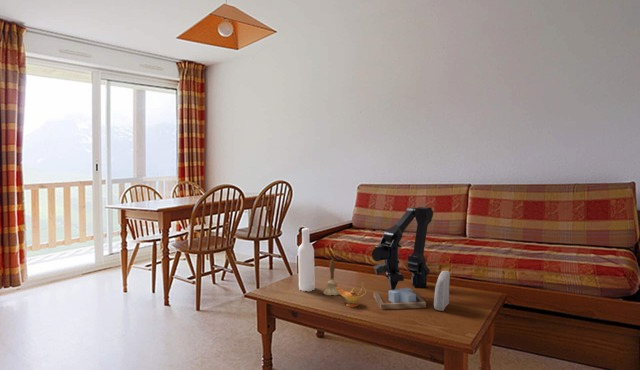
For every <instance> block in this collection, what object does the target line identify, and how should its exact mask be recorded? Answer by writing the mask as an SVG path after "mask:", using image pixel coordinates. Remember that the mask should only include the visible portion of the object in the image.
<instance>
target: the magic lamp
mask: <svg viewBox="0 0 640 370" xmlns="http://www.w3.org/2000/svg"><path fill="white" fill-rule="evenodd" d="M332 286H333V287H335V289H336V290H337V291H338V292H339V293H340V294H339V295H340V296H342V297H343V299H345V301H348V302H347V303H346V305H345V306H347V307H349V308H350V307H352V308H354V307H355V308H356V307H357V306H359V304H358V303H357V301H360V298H361V297H363V296H365V295H366V294H367V290H366V288H365V282H364V281H363V282H361V289H360V291H359V292H357V290H356V288H354V287H353V288H352V289H351V290H350V291H347V290H344V289H342V288H341V287H340V286H338V285H337V286H336V285H332ZM363 290H364V292H365V293H363V294H362V295H360V294H361V293H362V291H363Z"/></svg>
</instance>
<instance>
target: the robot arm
mask: <svg viewBox="0 0 640 370" xmlns="http://www.w3.org/2000/svg"><path fill="white" fill-rule="evenodd" d="M433 217H434V210H433V209H432V207H430V206H418V207H413V206H412V207H411V206H410V207H407V208H406V211H405V213H404V214H403V215H401V217H400V219H399V220H398V221H397V222H396V223H394V225H393V226H390V227H389V228H388V229H386V230H385V231H384V233H383V234H382V237H381V239H380V241H379V244H378V245H375V246H374V248H373V249H372V251H371V258H372V259H373V260H374V261H375V262H380V261H384V262H382V263H379V264H377V265H374V266H373V269H374V272H375V274H376V275H377V276H380V275H381V274H384V273H385V274H384V276H385V278H386V279H387V280H388V283H389V287H390V290H395V289H397V285H398V283H399V282H404V281H405V277H404V275H403V274H402V273H401V271H400V268H399V264H400V260H399V249H400V248H402V245H401V244H400V242H401V240H402V239H403V233H404V232H405V230H406V229H407V228H408V226H409V225H410V224H411V223H412V222H413V220H414V219H415V221H416V224H417V225H416V231H415V237H414V238H415V239H414V245H413V249H412V251H413V252H412V253H411V254H408V256H407V262H406V264H407V269H408V271H409V273H411V276H410V278H411V280H410V281H411V285H412V286H413V288H428V287H429V285H427V284H428V282H427V280H428V279H427V277H428V275H430V273H431V272H430V271H431V270H430V268H429V267H428V266H427V263H426V262H427V261H426V260H427V259H426V257H425V254H424V252H425V247H426V246H425V245H426V239H427V233H428V226H429V225H430V224H431V222H432V220H433Z"/></svg>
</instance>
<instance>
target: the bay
mask: <svg viewBox="0 0 640 370" xmlns="http://www.w3.org/2000/svg"><path fill="white" fill-rule="evenodd" d="M412 293H414V294H416V302H403V303H401V302H397V303H393V302H386V303H385V302H384V301H383V300H382V297H381V296H380V295H379V293H378V292H377V291H374V292H373V298H374V300H375V302H376V303H377V305H378V306H379V308H380V309H381V310H397V309H398V310H399V309H401V310H402V309H421V308H422V309H423V308H424V309H425V308H427V302H426V301H425V300H424V299H423V298H422V297H421V296H420V295H419V294H418V292H417V291H416V290H412Z"/></svg>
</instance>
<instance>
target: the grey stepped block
mask: <svg viewBox="0 0 640 370" xmlns="http://www.w3.org/2000/svg"><path fill="white" fill-rule="evenodd" d="M412 291H413V289H412V288H410V287H400V288H395V290H391V289H390V290H388V301H389V302H390V303H403V302H417V301H416V294H414V293H412Z"/></svg>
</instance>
